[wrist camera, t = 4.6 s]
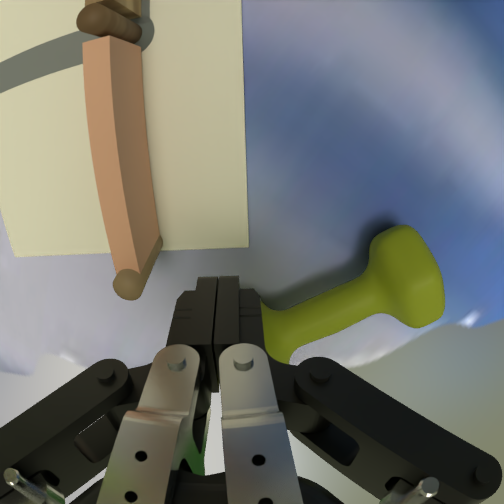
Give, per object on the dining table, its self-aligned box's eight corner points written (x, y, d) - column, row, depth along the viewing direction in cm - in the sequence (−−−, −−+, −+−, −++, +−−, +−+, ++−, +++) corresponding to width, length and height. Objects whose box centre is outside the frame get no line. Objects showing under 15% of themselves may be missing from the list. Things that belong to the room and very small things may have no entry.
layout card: (237, -132, 8) (237, -134, 8) (248, 245, 23) (248, 247, 23) (-14, -50, 8) (-16, -50, 7) (6, 256, 23) (4, 257, 22)
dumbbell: (251, 350, 28) (253, 414, 22) (205, 288, 25) (195, 355, 19) (416, 278, 25) (455, 331, 19) (397, 200, 22) (448, 244, 15)
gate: (143, 46, 16) (107, 33, 10) (164, 252, 22) (145, 300, 17) (116, 52, 16) (74, 42, 10) (141, 252, 22) (117, 300, 17)
